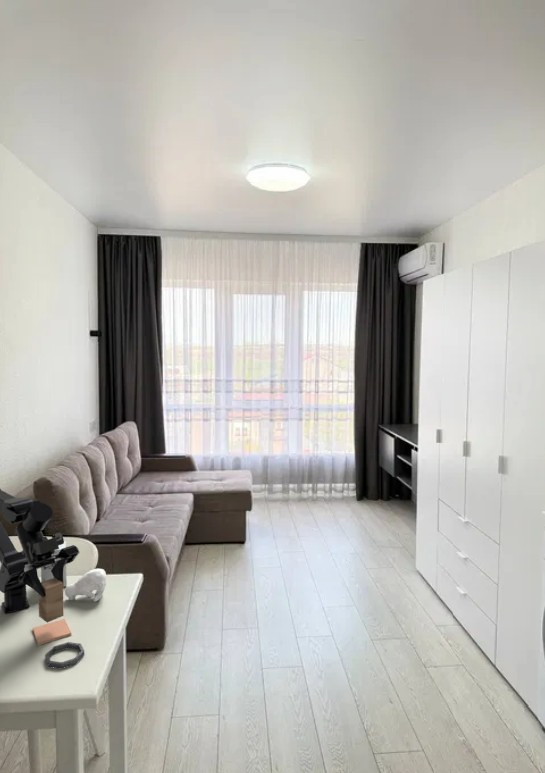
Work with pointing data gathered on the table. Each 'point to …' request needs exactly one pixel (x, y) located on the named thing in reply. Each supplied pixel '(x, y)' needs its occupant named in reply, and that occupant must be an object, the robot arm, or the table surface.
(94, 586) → the white lumpy piece
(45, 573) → the supplement box
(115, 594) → the table surface
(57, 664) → the metal ring
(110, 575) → the table surface
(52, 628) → the terracotta mat
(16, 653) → the table surface
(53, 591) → the walnut block
